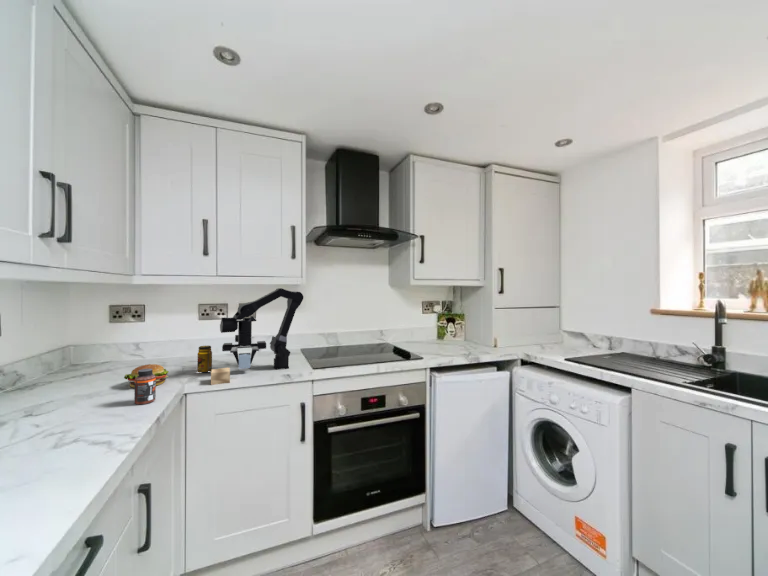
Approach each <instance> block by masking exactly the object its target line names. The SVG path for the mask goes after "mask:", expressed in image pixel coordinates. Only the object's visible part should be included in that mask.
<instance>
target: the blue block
mask: <svg viewBox="0 0 768 576" xmlns="http://www.w3.org/2000/svg"><path fill="white" fill-rule="evenodd" d="M238 358H239V365H238V370H240V369H250V368H251V364H250V362H251V352H245V353H244V352H243V353H241V352H240V353H238Z"/></svg>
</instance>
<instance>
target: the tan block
mask: <svg viewBox="0 0 768 576" xmlns="http://www.w3.org/2000/svg"><path fill="white" fill-rule="evenodd" d="M210 375H211V376H210V385H211V386H213V385H222V384H223V385H224V384H230V383H231V368H230V367H221V368H218V369H213V368H212V370H211V372H210Z"/></svg>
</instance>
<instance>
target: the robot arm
mask: <svg viewBox="0 0 768 576" xmlns="http://www.w3.org/2000/svg"><path fill="white" fill-rule="evenodd" d="M279 298H284V299H287V300H286V304H287V305H286V306H287V307H286V310H285V313H284V316H283V319H282V321H281V324H280V327H279V329H278V332H277V334H276V336H274V335H273V336H272V337H271V341H270V342H269V345H270V346H269V347H270V350H271V351H272V352H273V353H274V358H273V368H274V369H275V370H280V369H279V368H285V369H289V367H290V366H289V363H290V362H289V360H290V359H289V358H290V354H291V351H290V350H289V349H288V348H287V345H288V344H287V343H288V340H287V339H288V337H287V336H288V334H289V331H290V328H291V325H292V322H293V319H294V317H295V313H296V311H297V309H299V307H300V306H301V304H302V302H303V300H304V295H303V293H302V292H300V291H295V290H294V291H291V290H287V289H284V288H283V287H282V288H279V287H278V288H276V289H274V290H273V291H271V292H269V293H267V294H265V295H263V296H261V297H259V298H257V299H255V300H253V301H249V302H246V303H243V304H239V306H237V311H236V312H235V314H234V315H233V316H232V317H221V318H220V324H219V331H220V333H221V334H223V333H224V334H225V333H235V332H236V331H237V330H238V333H237V334H235V336H234V338H235V339H234V341H235V343H236V344H235V343H234V344H233V342H224V343H223V344H222V346H221V347H222V349H221V350H222V352H229V353H230V354H231V353H232V354H233V356H234V358H235V361H236V364H237V365H238V366H239V353H238V351H239V350H238V349H250V348H251V352H250V354H251V362H250V365H251V364H253V363H252V362H253V361H254V358H255V355H256V353H257V352H259V351H260V350H265V349H267V343H266V341H264V340H261V341H256V343H255V342H254V343H252V330H253V329H252V322H257V319H256V318H254V316H253V315H254V314H255V313H257V311H258V310H259V309H260V308H261V307H264V306H265V305H268V304H270V303H272V302H273V301H275V300H277V299H279Z"/></svg>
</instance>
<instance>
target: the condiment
mask: <svg viewBox="0 0 768 576" xmlns="http://www.w3.org/2000/svg"><path fill="white" fill-rule="evenodd" d="M197 351H198V352H197V369H196V370H197V371H198V372H208V371H211V370H212V369H213V351H212V346H211V345H201V346H200V345H199V346H198V350H197ZM197 371H196V372H197Z"/></svg>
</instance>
